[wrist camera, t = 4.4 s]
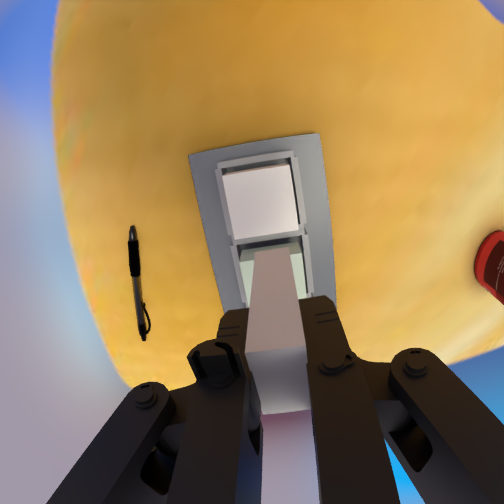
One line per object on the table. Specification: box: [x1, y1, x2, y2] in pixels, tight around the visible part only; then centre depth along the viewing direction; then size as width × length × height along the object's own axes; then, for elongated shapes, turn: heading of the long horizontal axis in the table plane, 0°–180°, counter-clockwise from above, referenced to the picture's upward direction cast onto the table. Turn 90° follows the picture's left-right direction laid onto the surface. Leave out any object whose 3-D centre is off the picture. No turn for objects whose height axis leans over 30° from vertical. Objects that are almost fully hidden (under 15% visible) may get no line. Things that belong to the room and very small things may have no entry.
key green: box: [239, 242, 307, 307], centre depth 22 cm, size 4×4×2 cm
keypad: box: [188, 133, 337, 314], centre depth 25 cm, size 21×11×4 cm, turn 10°
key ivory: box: [222, 163, 299, 240], centre depth 20 cm, size 4×4×2 cm
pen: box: [128, 226, 151, 341], centre depth 29 cm, size 14×2×1 cm, turn 175°
